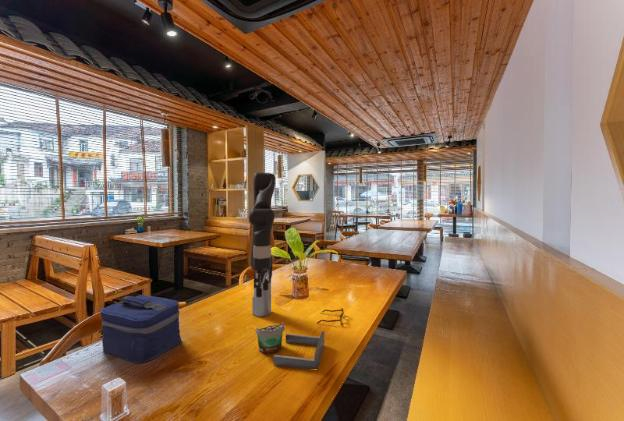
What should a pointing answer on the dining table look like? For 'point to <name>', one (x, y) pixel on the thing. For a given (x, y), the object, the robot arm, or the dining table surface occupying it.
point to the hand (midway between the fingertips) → (262, 293)
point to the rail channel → (302, 362)
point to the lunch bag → (140, 327)
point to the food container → (270, 339)
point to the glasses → (333, 320)
